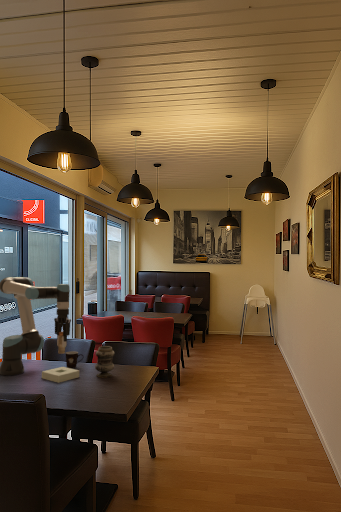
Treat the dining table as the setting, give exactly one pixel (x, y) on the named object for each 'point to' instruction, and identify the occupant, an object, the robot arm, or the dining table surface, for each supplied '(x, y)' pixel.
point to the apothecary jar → (104, 361)
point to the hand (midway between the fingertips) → (61, 346)
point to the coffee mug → (72, 359)
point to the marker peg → (61, 349)
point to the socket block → (60, 374)
